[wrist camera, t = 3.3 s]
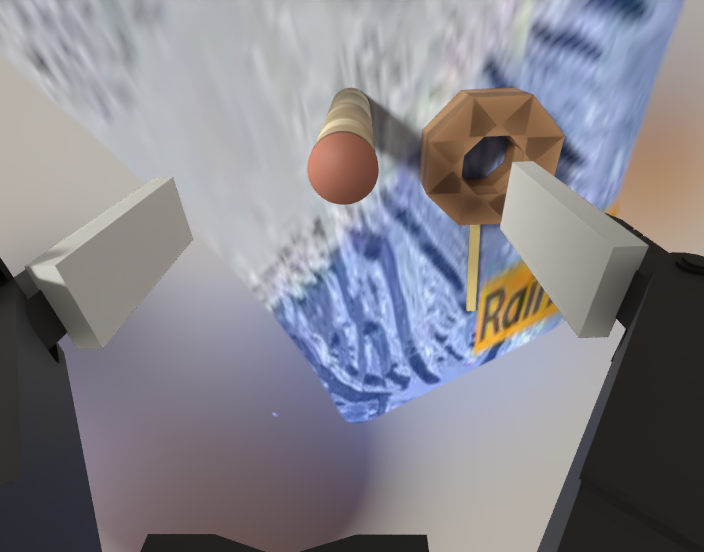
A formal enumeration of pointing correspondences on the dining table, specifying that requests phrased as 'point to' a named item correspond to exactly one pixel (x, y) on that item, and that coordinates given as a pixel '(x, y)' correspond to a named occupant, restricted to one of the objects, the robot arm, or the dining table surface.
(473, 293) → the pale yellow wooden rod
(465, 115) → the walnut bead
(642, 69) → the dining table surface
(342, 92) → the needle dowel
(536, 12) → the dining table surface
